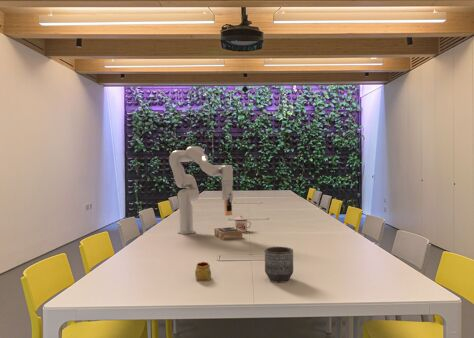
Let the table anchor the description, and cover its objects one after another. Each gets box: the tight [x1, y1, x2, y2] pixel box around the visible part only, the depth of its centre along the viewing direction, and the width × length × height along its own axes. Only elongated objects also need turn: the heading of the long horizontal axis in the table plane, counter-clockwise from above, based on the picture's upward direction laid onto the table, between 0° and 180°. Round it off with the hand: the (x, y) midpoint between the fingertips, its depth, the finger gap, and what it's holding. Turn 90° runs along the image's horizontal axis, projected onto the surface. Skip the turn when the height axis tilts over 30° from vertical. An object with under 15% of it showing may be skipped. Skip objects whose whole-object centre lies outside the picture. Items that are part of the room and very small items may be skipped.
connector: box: [223, 199, 233, 216], centre depth 265 cm, size 4×4×11 cm
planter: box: [264, 246, 294, 283], centre depth 169 cm, size 12×12×13 cm
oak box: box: [213, 226, 243, 241], centre depth 266 cm, size 17×14×6 cm
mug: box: [194, 261, 212, 281], centre depth 174 cm, size 12×7×7 cm, turn 177°
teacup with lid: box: [234, 214, 252, 233], centre depth 286 cm, size 12×9×12 cm
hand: (228, 210), depth 265 cm, fingers closed on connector, 4 cm apart
